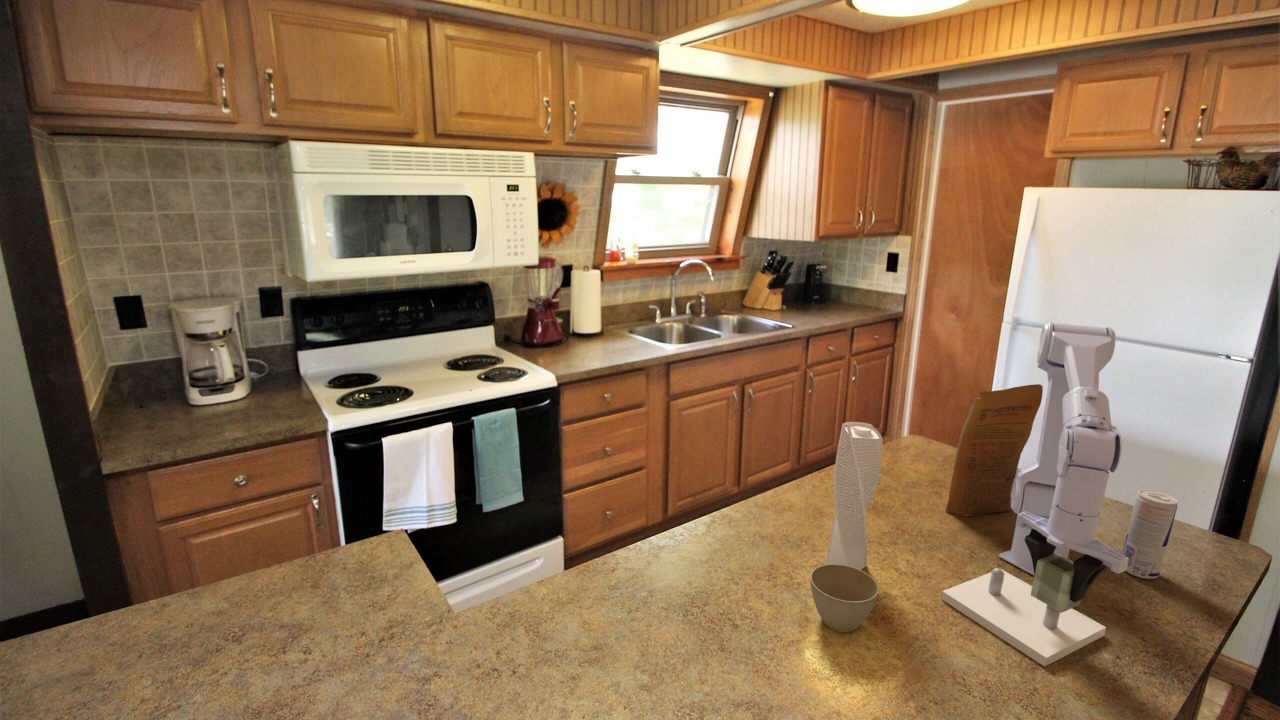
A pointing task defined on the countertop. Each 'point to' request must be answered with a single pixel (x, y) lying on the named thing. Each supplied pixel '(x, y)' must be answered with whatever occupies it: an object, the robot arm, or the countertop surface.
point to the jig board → (1022, 616)
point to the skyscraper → (854, 492)
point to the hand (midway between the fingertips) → (1057, 589)
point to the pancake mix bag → (992, 449)
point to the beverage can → (1149, 533)
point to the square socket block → (1054, 582)
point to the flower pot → (843, 595)
